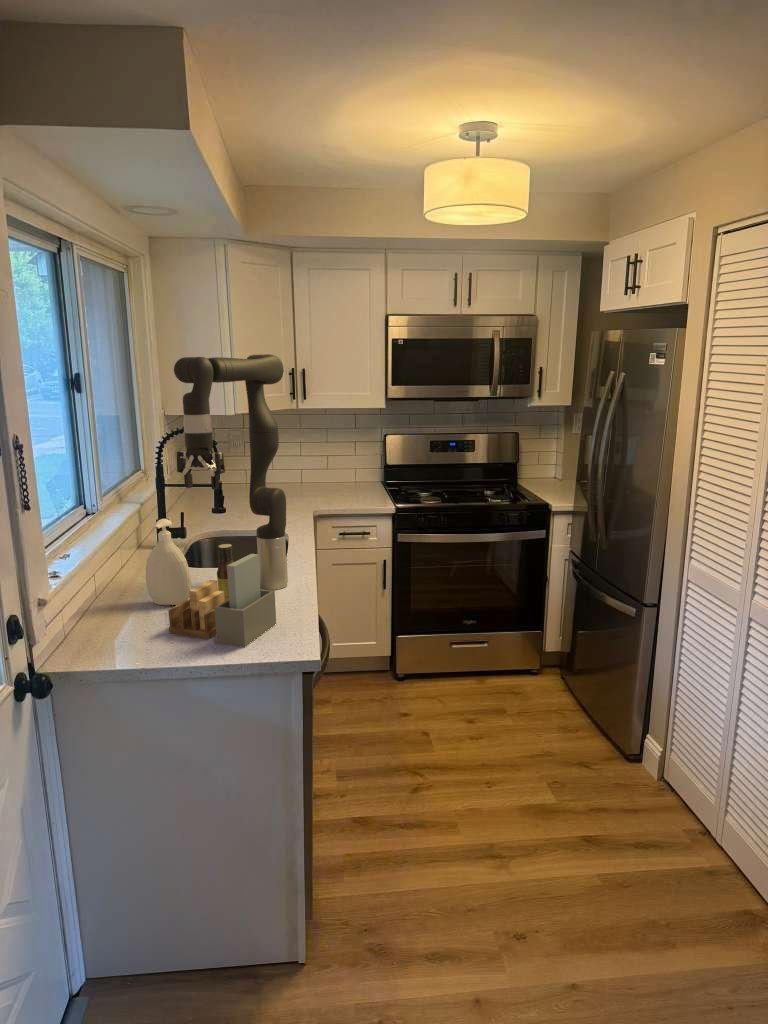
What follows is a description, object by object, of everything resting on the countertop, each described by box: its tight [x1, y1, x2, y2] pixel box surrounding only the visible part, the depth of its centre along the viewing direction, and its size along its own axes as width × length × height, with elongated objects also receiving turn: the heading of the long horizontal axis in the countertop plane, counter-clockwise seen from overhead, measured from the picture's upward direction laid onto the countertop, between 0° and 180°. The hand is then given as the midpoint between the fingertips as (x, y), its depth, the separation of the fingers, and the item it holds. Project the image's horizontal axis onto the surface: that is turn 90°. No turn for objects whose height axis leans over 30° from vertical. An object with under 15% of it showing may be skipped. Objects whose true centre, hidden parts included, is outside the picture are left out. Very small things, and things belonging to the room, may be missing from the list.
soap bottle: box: [145, 518, 192, 607], centre depth 202 cm, size 14×8×27 cm, turn 81°
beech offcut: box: [198, 591, 225, 630], centre depth 183 cm, size 9×2×8 cm, turn 160°
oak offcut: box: [189, 579, 218, 625], centre depth 186 cm, size 10×2×10 cm, turn 160°
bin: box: [214, 588, 277, 648], centre depth 180 cm, size 17×9×10 cm, turn 160°
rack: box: [167, 598, 216, 640], centre depth 185 cm, size 14×13×7 cm
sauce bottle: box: [216, 543, 235, 601], centre depth 199 cm, size 6×6×20 cm
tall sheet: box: [227, 553, 261, 610], centre depth 179 cm, size 12×2×20 cm, turn 160°
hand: (202, 488), depth 187 cm, fingers open, 8 cm apart
